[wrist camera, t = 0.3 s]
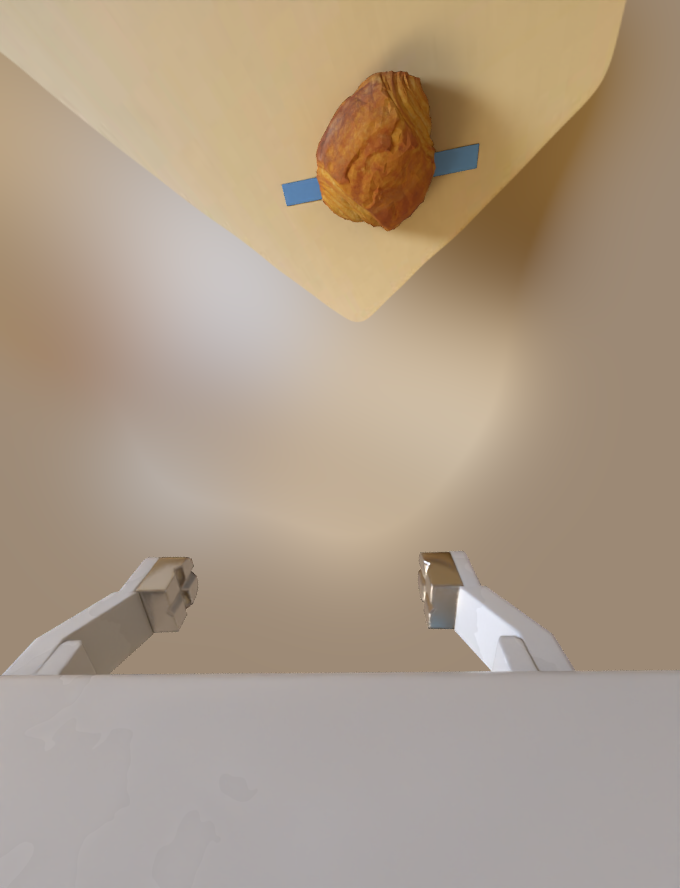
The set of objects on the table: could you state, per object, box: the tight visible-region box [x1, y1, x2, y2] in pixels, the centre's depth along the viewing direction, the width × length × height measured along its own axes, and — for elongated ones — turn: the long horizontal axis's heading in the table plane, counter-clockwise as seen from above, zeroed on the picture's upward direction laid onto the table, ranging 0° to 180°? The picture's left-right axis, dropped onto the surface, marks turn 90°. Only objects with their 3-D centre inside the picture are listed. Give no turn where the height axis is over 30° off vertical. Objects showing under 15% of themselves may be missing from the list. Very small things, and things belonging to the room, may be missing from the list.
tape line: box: [282, 144, 479, 206], centre depth 46 cm, size 2×26×1 cm, turn 99°
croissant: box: [316, 71, 436, 231], centre depth 43 cm, size 14×16×8 cm
